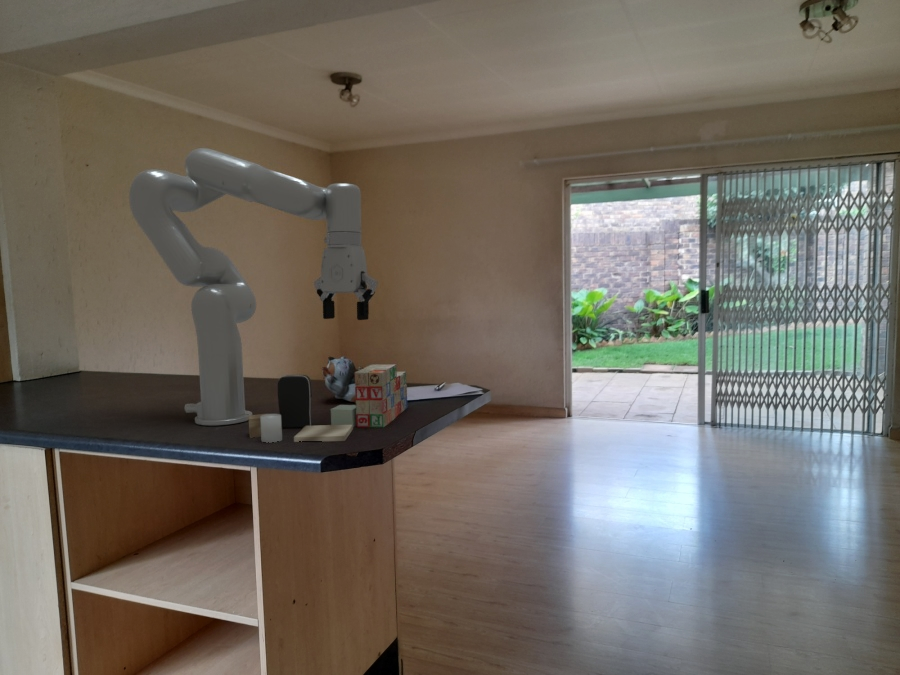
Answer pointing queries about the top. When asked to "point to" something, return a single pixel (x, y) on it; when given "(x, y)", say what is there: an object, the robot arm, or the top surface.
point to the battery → (295, 401)
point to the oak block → (255, 425)
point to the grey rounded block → (271, 428)
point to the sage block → (343, 415)
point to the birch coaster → (324, 433)
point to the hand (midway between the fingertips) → (345, 319)
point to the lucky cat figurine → (341, 378)
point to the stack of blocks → (379, 395)
